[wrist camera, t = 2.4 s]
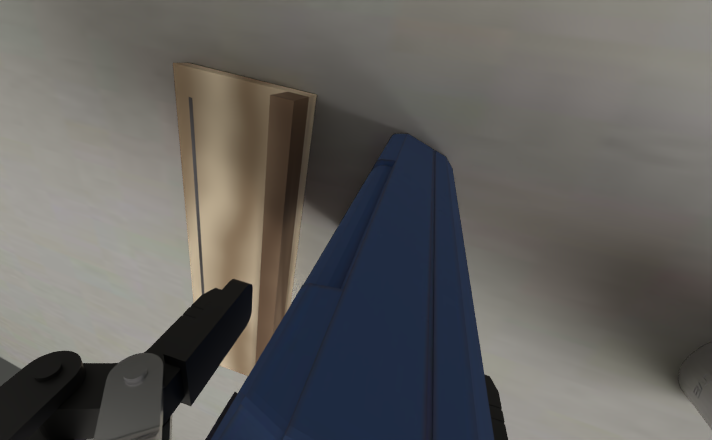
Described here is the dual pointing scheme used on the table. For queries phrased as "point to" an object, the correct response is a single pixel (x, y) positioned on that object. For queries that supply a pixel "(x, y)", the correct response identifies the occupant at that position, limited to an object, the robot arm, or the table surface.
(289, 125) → the guide board
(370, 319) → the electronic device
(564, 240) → the table surface
